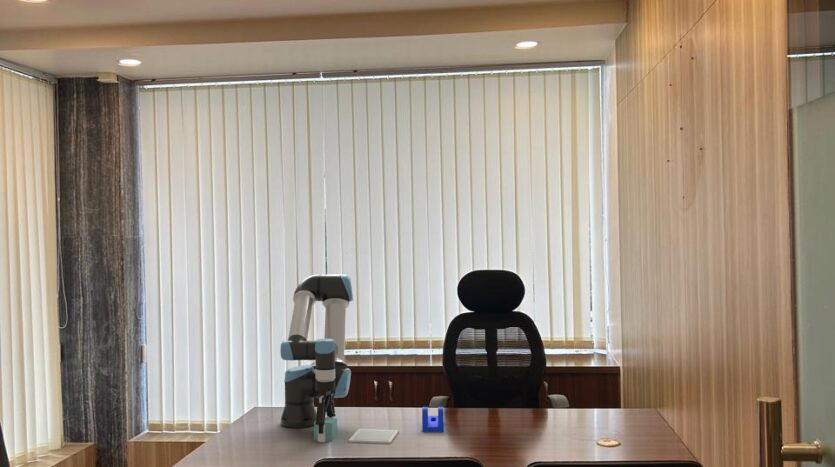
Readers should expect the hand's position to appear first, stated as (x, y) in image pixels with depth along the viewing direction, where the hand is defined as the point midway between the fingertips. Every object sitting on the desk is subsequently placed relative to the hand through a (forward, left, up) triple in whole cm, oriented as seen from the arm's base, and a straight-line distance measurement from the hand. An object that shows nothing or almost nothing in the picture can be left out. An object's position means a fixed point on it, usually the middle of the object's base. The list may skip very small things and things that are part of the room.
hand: (325, 437), depth 294 cm
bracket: (-24, +38, -1) cm, 45 cm away
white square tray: (-4, +18, 0) cm, 18 cm away
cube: (0, 0, 0) cm, 0 cm away
